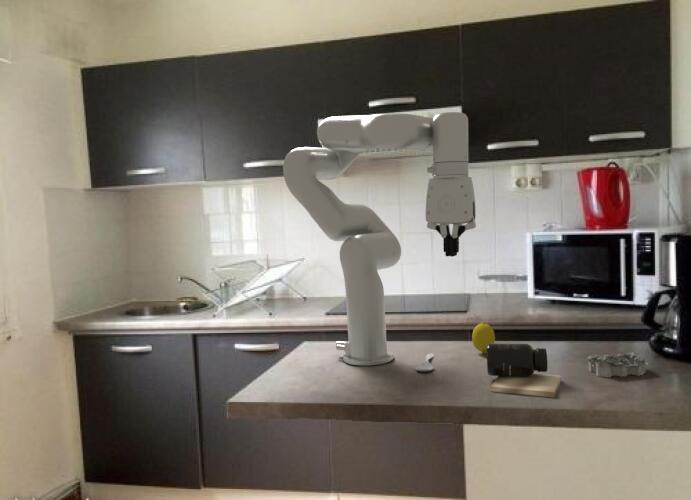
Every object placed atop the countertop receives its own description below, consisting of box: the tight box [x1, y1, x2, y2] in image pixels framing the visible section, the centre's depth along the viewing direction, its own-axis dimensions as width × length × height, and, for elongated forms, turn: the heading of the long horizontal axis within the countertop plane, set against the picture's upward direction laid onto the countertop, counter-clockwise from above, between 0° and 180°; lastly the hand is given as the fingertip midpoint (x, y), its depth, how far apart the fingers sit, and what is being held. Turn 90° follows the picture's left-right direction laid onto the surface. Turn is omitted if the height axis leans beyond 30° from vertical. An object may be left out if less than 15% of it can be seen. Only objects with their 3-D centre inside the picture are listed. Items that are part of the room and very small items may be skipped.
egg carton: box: [586, 351, 649, 378], centre depth 119 cm, size 11×8×4 cm
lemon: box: [471, 321, 496, 355], centre depth 139 cm, size 6×6×8 cm
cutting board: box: [490, 373, 562, 398], centre depth 113 cm, size 12×11×1 cm
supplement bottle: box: [486, 342, 549, 377], centre depth 117 cm, size 7×7×12 cm
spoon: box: [415, 352, 435, 373], centre depth 135 cm, size 4×21×2 cm, turn 165°
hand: (451, 255), depth 122 cm, fingers closed
